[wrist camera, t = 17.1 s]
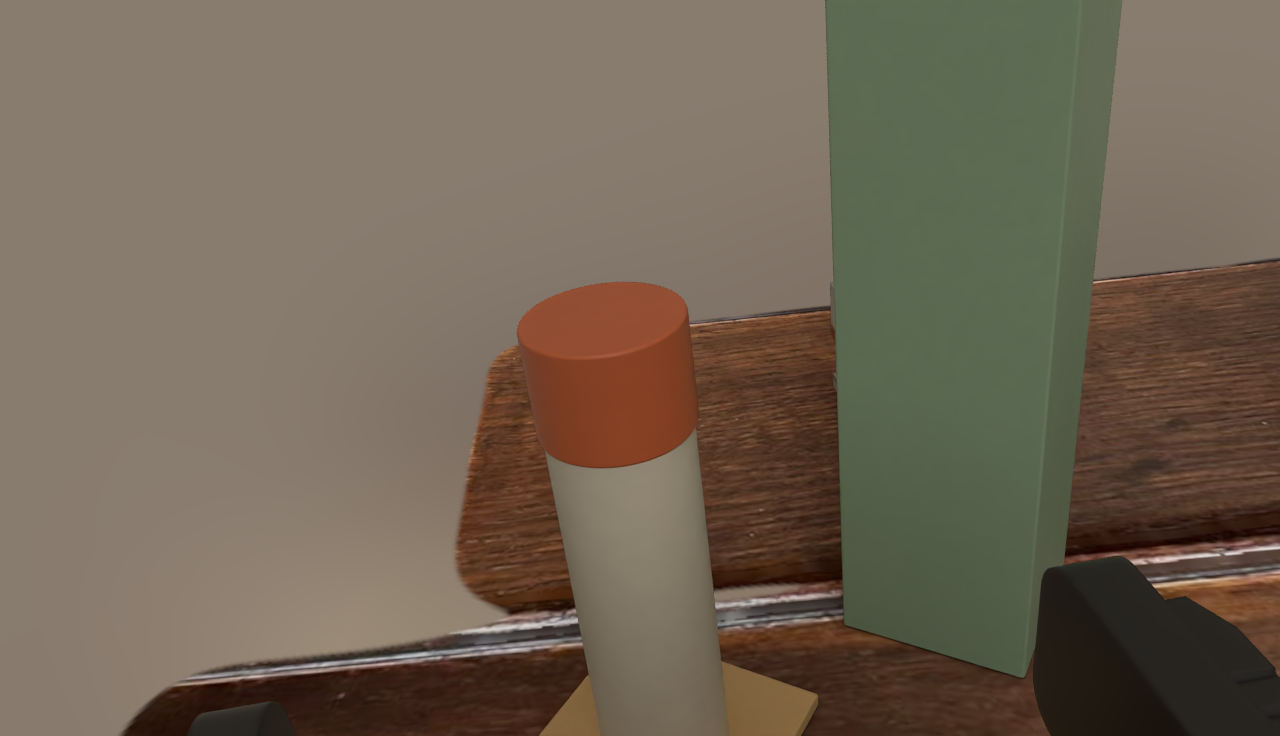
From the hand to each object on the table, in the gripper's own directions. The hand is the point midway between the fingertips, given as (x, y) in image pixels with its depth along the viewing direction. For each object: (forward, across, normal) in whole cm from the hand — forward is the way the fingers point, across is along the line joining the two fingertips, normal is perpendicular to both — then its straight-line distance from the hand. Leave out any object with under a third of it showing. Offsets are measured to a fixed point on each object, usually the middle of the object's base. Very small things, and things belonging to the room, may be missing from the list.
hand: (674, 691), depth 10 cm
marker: (+10, 0, +12) cm, 16 cm away
